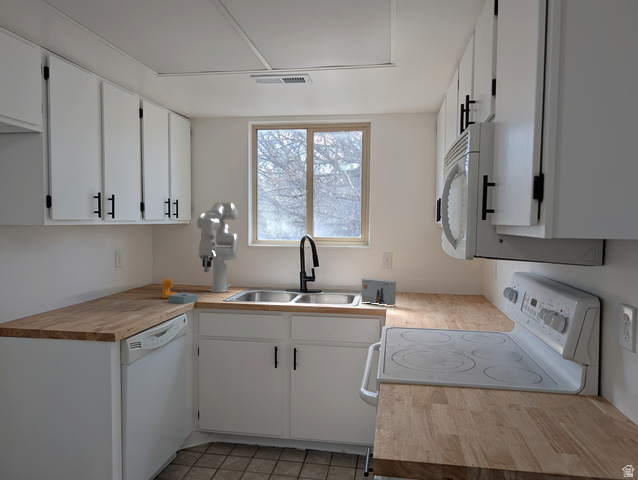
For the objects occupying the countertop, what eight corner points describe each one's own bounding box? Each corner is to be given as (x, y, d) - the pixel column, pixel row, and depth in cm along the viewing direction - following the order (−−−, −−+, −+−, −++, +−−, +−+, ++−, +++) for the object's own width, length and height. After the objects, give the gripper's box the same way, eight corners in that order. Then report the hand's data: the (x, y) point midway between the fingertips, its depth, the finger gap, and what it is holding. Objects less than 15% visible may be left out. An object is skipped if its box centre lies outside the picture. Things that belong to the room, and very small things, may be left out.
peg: (206, 271, 268) (206, 255, 268) (210, 271, 267) (210, 255, 267) (203, 271, 266) (203, 255, 265) (207, 272, 264) (207, 256, 264)
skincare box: (360, 303, 270) (361, 278, 269) (364, 302, 274) (364, 277, 274) (393, 307, 260) (393, 281, 259) (395, 306, 265) (396, 280, 264)
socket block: (182, 298, 269) (183, 292, 269) (197, 300, 264) (197, 294, 264) (168, 301, 258) (168, 295, 258) (183, 303, 253) (183, 297, 253)
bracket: (173, 299, 268) (173, 280, 267) (161, 299, 267) (162, 280, 267) (177, 296, 278) (177, 278, 278) (166, 296, 278) (166, 277, 277)
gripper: (221, 238, 265) (221, 267, 266) (201, 237, 272) (200, 265, 273) (213, 238, 259) (213, 268, 259) (192, 237, 266) (192, 266, 266)
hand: (206, 266), depth 266 cm, fingers closed on peg, 3 cm apart
